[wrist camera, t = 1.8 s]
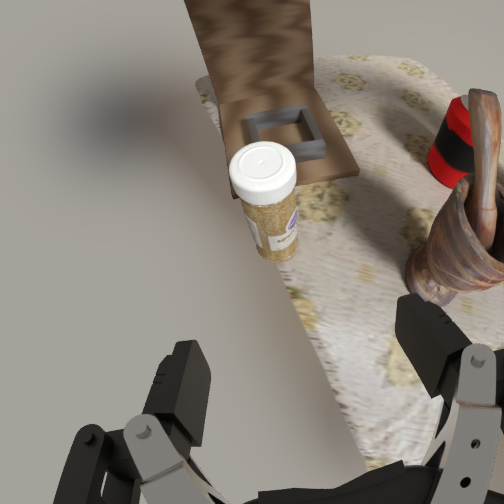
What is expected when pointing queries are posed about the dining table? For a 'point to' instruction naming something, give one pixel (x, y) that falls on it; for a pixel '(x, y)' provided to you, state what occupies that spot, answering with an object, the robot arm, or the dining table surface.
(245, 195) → the sprinkles bottle
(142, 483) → the robot arm
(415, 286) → the mortar and pestle
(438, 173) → the soda can
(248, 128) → the overhang stand
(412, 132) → the dining table surface
